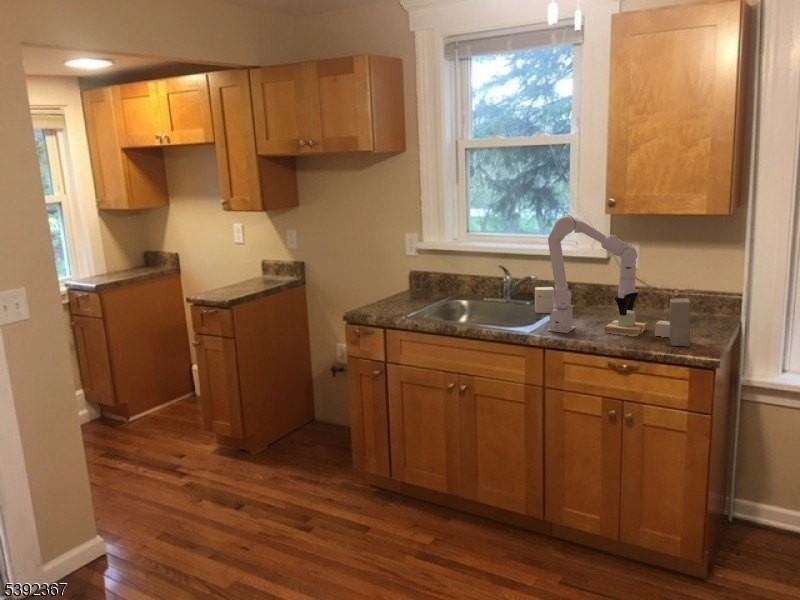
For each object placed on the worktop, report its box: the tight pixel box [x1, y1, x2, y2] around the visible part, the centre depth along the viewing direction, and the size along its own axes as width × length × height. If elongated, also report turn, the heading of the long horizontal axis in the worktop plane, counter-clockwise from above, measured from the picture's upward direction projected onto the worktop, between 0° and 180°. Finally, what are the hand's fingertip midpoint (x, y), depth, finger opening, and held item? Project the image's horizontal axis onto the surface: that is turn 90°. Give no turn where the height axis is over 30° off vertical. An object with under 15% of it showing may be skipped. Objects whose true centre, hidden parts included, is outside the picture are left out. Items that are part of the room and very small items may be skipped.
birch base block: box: [604, 319, 647, 337], centre depth 247 cm, size 12×12×3 cm
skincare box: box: [668, 297, 691, 348], centre depth 227 cm, size 8×7×16 cm
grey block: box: [654, 320, 670, 338], centre depth 239 cm, size 5×5×5 cm
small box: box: [534, 286, 555, 314], centre depth 282 cm, size 8×6×10 cm
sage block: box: [617, 309, 636, 326], centre depth 247 cm, size 5×5×5 cm
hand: (626, 313), depth 246 cm, fingers open, 7 cm apart
